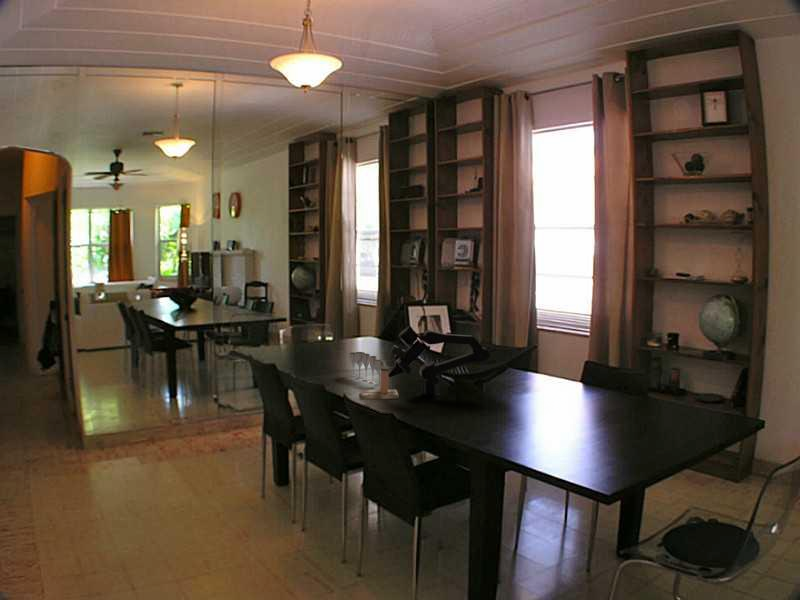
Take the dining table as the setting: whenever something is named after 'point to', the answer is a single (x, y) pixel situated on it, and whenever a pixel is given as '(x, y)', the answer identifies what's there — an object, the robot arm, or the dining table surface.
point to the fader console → (379, 394)
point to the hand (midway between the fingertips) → (388, 376)
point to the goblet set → (366, 364)
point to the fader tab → (384, 379)
